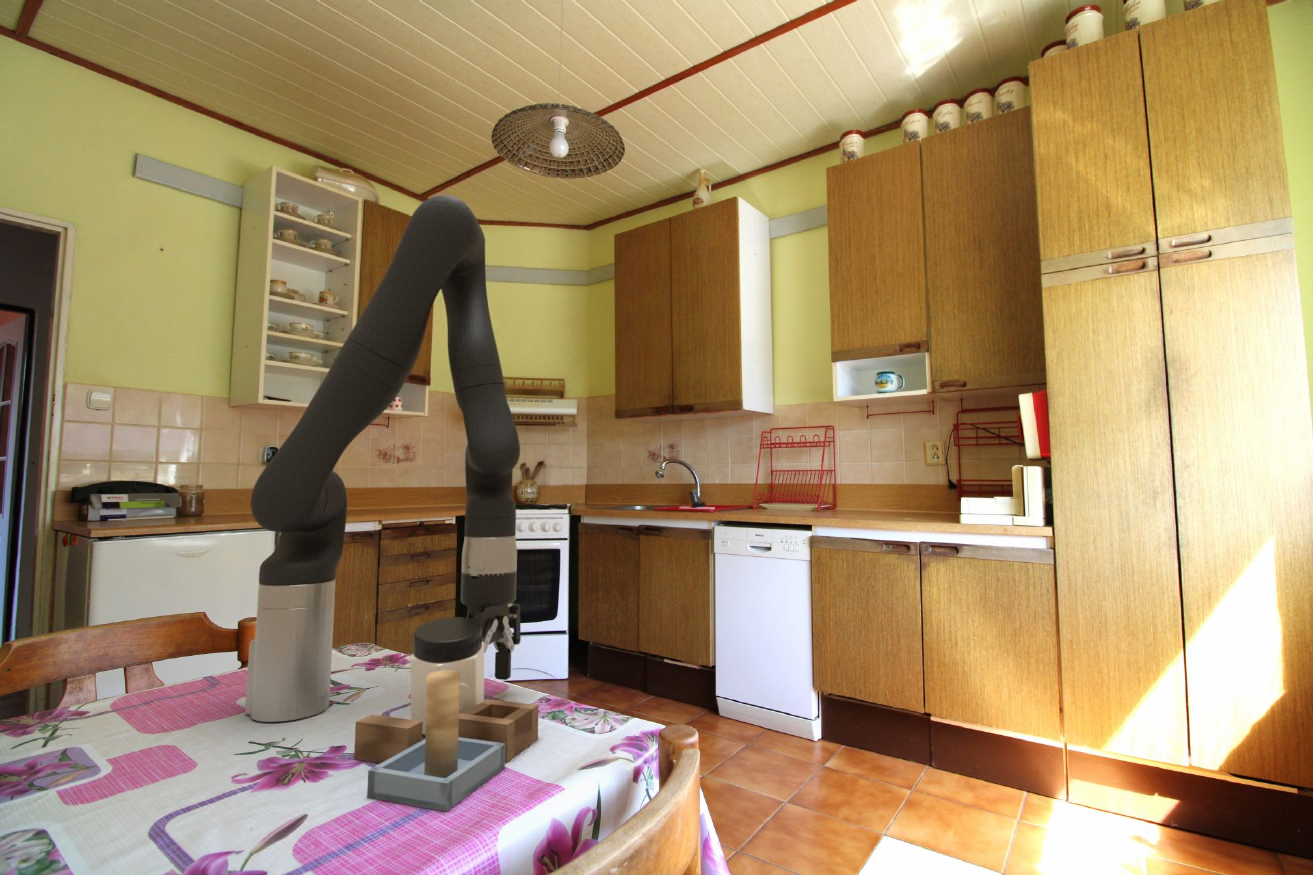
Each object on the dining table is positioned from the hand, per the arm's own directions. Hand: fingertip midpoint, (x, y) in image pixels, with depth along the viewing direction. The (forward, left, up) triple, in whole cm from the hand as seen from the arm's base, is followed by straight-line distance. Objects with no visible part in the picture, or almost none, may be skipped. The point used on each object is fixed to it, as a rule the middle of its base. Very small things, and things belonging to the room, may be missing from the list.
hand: (486, 687), depth 87 cm
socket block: (+9, -12, -3) cm, 15 cm away
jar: (0, -8, -2) cm, 9 cm away
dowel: (+9, -22, -2) cm, 23 cm away
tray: (+9, -22, -3) cm, 23 cm away
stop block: (0, -19, -3) cm, 19 cm away
